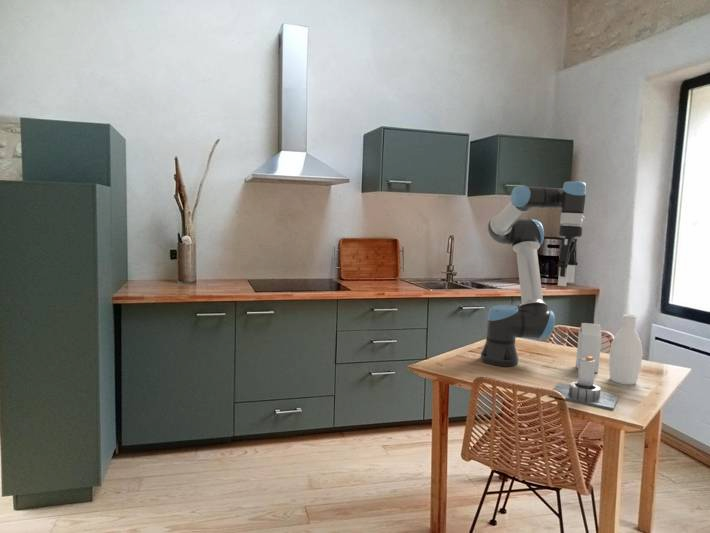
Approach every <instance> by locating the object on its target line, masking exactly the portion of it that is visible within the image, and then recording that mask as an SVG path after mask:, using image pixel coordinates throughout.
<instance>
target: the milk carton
mask: <svg viewBox="0 0 710 533" xmlns="http://www.w3.org/2000/svg"><path fill="white" fill-rule="evenodd" d="M602 339H603V338H602V331H601V324H600V323H599V324H598V323H588V322H587V323H586V322H581V325H580V327H579V330H578V339H577V349H576V360H575V367H576V368H577V370H578V369H579V359H580V358H586V357H589V356H591V357H593V360H595V371H594V374H595V373H597V374H598V373H599V367H600V358H601V347H602Z"/></svg>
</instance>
